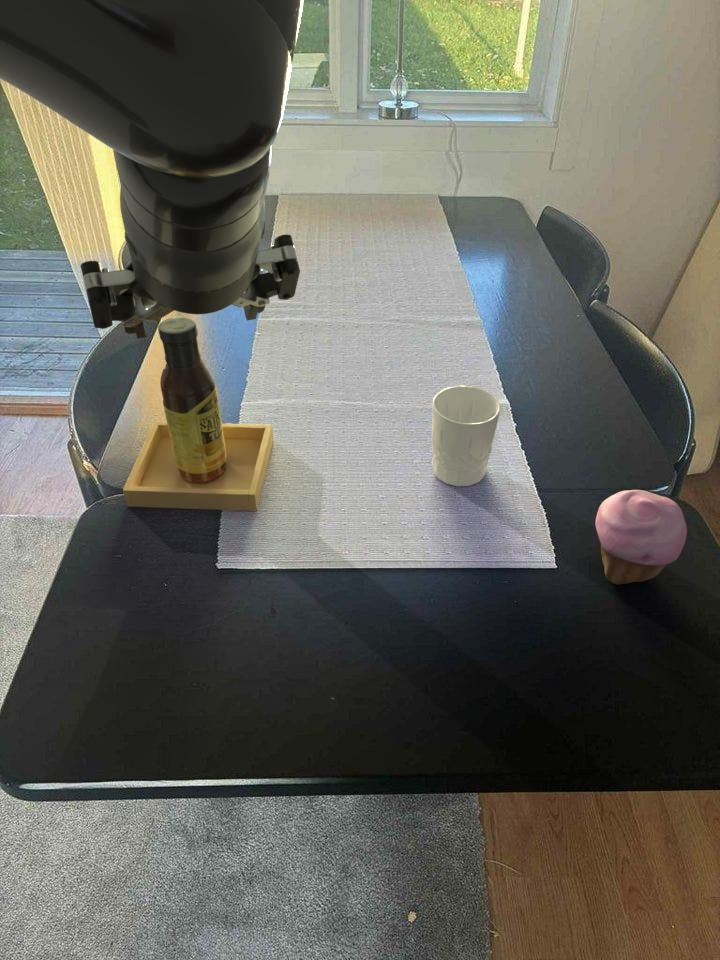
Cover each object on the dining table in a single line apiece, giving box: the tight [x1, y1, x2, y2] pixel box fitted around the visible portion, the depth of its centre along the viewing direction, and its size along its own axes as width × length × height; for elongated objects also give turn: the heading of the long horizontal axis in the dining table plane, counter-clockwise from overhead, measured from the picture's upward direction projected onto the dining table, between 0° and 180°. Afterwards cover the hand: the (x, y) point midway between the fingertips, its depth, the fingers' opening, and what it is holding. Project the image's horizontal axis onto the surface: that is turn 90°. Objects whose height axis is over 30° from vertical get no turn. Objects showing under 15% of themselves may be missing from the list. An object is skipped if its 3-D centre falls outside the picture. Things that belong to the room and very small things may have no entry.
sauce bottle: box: [157, 316, 227, 483], centre depth 81 cm, size 6×6×20 cm
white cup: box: [431, 385, 502, 487], centre depth 85 cm, size 8×8×10 cm
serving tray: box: [122, 420, 275, 512], centre depth 87 cm, size 16×14×3 cm
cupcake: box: [595, 489, 688, 585], centre depth 72 cm, size 9×9×10 cm
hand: (194, 316), depth 55 cm, fingers open, 8 cm apart
